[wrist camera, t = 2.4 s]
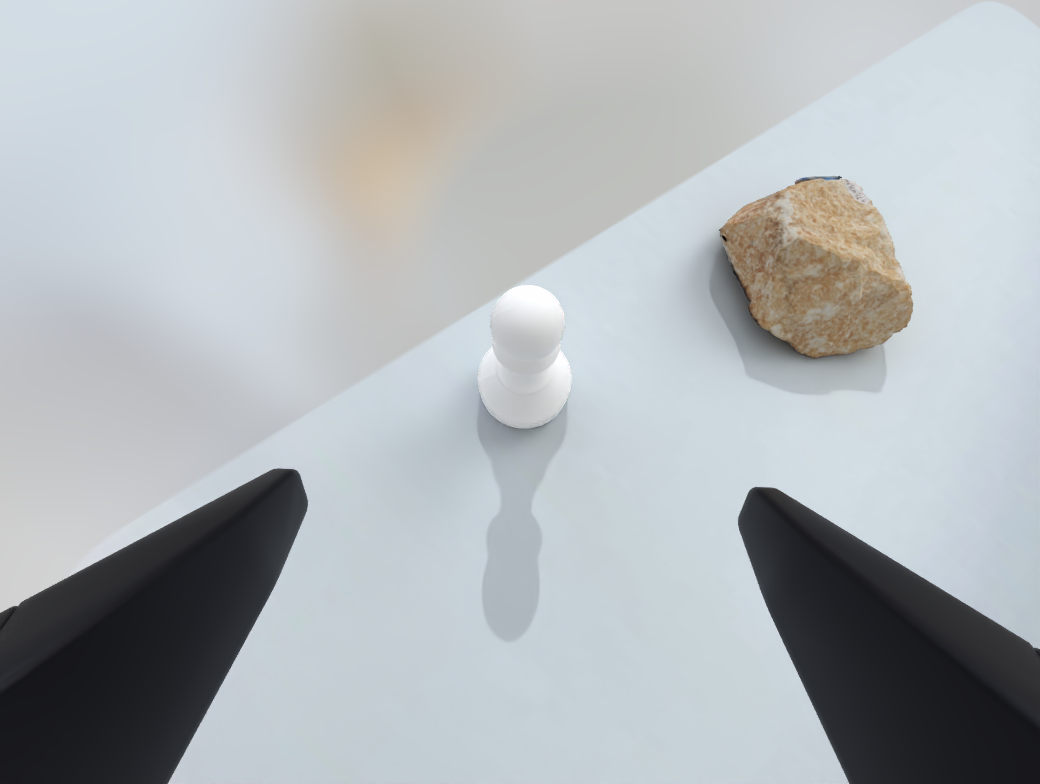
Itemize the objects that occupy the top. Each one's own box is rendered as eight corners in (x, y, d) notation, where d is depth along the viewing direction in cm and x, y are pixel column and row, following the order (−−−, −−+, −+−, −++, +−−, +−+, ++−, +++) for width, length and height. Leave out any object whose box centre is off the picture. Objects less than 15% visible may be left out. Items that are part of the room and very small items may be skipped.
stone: (816, 204, 26) (876, 142, 21) (889, 346, 23) (977, 308, 18) (696, 224, 25) (733, 165, 21) (755, 373, 22) (813, 340, 18)
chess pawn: (562, 341, 23) (589, 238, 14) (574, 425, 21) (613, 367, 13) (476, 349, 22) (451, 249, 14) (483, 434, 21) (459, 381, 12)
